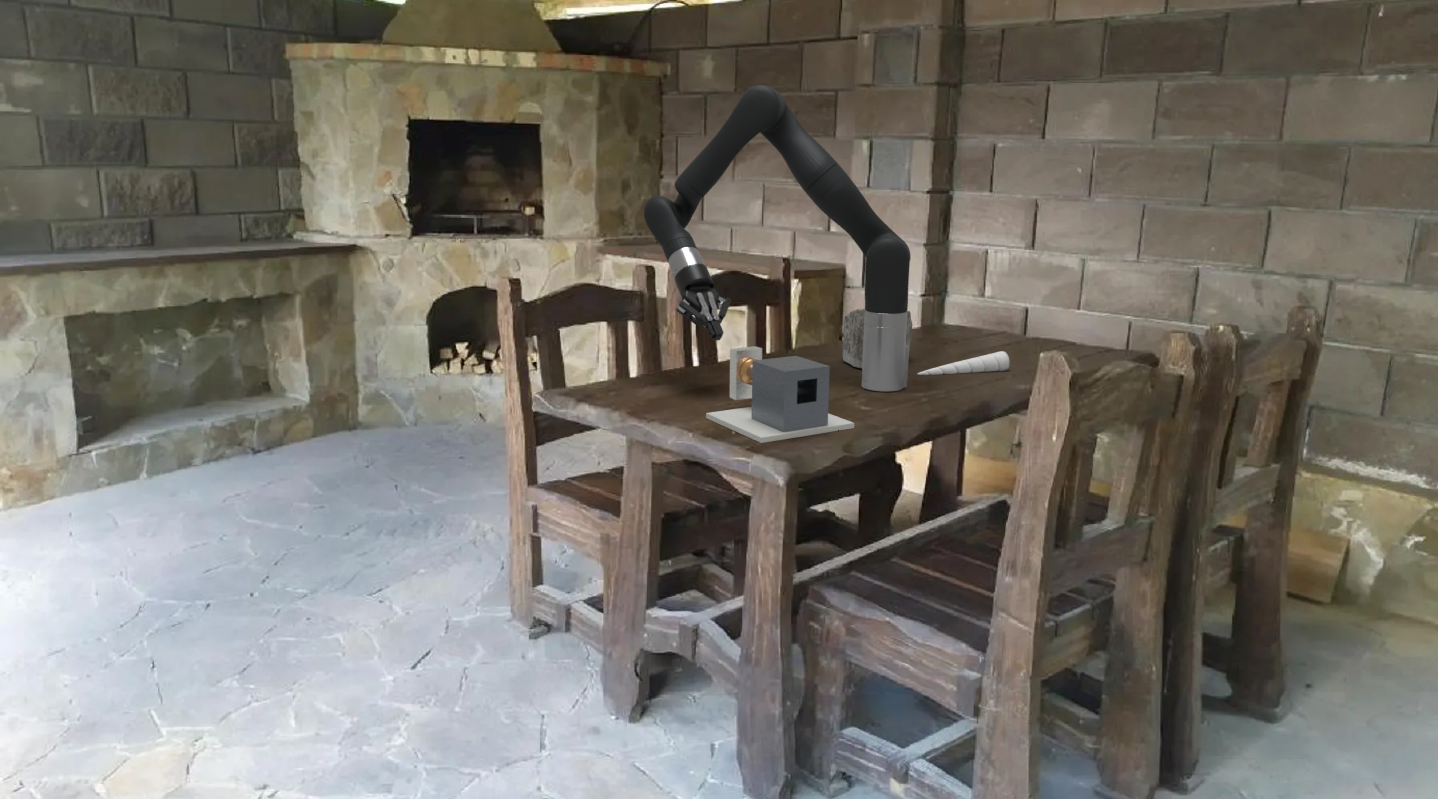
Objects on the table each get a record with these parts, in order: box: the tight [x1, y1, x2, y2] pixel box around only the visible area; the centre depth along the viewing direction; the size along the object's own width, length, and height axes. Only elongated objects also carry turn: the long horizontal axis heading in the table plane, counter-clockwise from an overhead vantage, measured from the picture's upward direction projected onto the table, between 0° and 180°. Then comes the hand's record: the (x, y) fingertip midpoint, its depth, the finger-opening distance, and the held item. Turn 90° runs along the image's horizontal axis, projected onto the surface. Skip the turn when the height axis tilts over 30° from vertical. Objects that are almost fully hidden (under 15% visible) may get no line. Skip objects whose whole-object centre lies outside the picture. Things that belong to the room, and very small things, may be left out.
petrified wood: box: [841, 308, 913, 369], centre depth 253 cm, size 19×17×15 cm
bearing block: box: [751, 355, 831, 432], centre depth 195 cm, size 10×11×11 cm
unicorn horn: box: [917, 350, 1010, 376], centre depth 246 cm, size 5×24×5 cm, turn 105°
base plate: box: [705, 406, 855, 444], centre depth 199 cm, size 21×20×1 cm
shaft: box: [729, 345, 763, 401], centre depth 202 cm, size 6×16×10 cm, turn 31°
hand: (718, 338), depth 216 cm, fingers closed
